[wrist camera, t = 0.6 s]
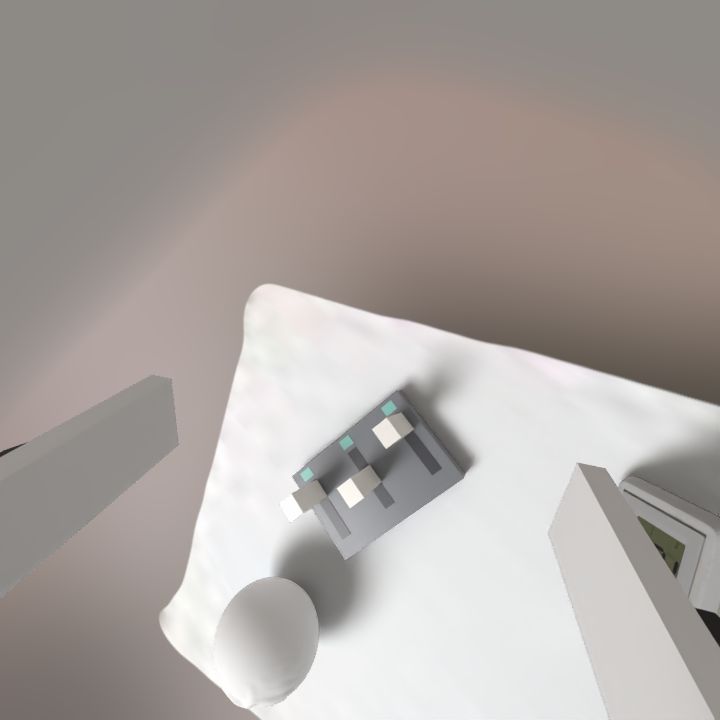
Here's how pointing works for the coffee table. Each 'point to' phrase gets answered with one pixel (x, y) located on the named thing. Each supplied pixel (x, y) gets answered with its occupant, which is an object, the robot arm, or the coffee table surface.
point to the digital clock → (680, 539)
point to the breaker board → (393, 467)
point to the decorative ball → (265, 642)
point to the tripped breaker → (359, 486)
